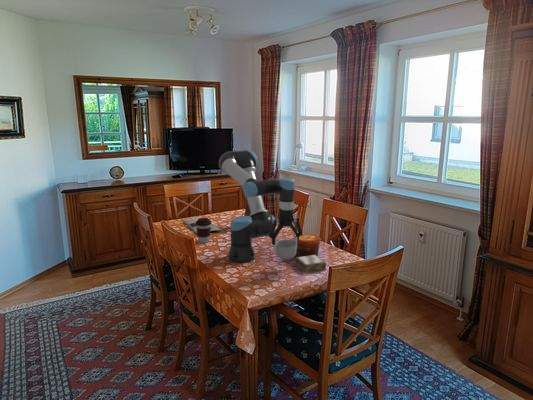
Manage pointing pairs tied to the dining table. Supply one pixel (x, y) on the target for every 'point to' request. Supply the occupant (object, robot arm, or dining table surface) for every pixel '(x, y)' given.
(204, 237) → the coffee cup
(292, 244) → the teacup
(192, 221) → the newspaper
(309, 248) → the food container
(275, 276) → the dining table surface
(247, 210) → the butternut squash
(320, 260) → the pedestal
